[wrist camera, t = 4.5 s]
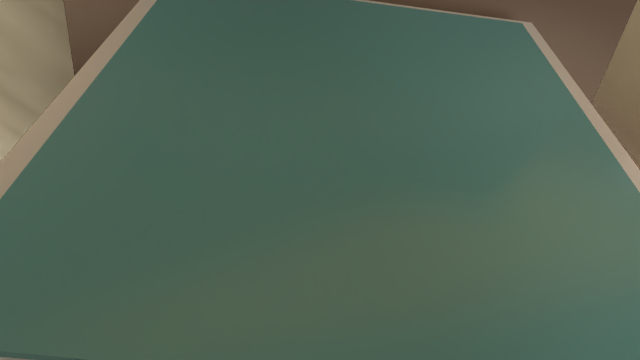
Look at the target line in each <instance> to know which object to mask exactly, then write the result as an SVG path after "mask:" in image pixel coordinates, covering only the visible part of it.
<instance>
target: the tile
mask: <svg viewBox="0 0 640 360" xmlns="http://www.w3.org/2000/svg"><path fill="white" fill-rule="evenodd" d="M0 360H640V170H639V168H638V167H637V166H636V164H635V163H634V162H633V160H632V159H631V157H630V156H629V155H628V153H627V152H626V151H625V149H624V148H623V147H622V145H621V144H620V142H619V141H618V140H617V138H616V137H615V136H614V134H613V133H612V132H611V130H610V129H609V127H608V126H607V125H606V123H605V122H604V121H603V119H602V118H601V116H600V115H599V114H598V112H597V111H596V110H595V108H594V107H593V106H592V104H591V103H590V101H589V100H588V99H587V97H586V96H585V95H584V93H583V92H582V91H581V89H580V88H579V86H578V85H577V84H576V82H575V81H574V80H573V78H572V77H571V76H570V74H569V73H568V71H567V70H566V69H565V67H564V66H563V65H562V63H561V62H560V61H559V59H558V58H557V56H556V55H555V54H554V52H553V51H552V50H551V48H550V47H549V46H548V44H547V43H546V41H545V40H544V39H543V37H542V36H541V35H540V33H539V32H538V31H537V29H536V28H535V26H534V25H533V24H532V23H531V22H524V21H516V20H509V19H502V18H494V17H487V16H479V15H472V14H465V13H457V12H450V11H442V10H435V9H428V8H420V7H413V6H405V5H398V4H391V3H383V2H376V1H369V0H140V1H139V2H138V3H137V4H136V5H135V6H134V8H133V9H132V10H131V11H130V12H129V13H128V15H127V16H126V17H125V18H124V19H123V20H122V21H121V23H120V24H119V25H118V26H117V27H116V28H115V30H114V31H113V32H112V33H111V34H110V35H109V37H108V38H107V39H106V40H105V41H104V42H103V44H102V45H101V46H100V47H99V48H98V49H97V51H96V52H95V53H94V54H93V55H92V56H91V58H90V59H89V60H88V61H87V62H86V63H85V64H84V66H83V67H82V68H81V69H80V70H79V71H78V73H77V74H76V75H75V76H74V77H73V78H72V80H71V81H70V82H69V83H68V84H67V85H66V87H65V88H64V89H63V90H62V91H61V92H60V94H59V95H58V96H57V97H56V98H55V99H54V101H53V102H52V103H51V104H50V105H49V106H48V107H47V109H46V110H45V111H44V112H43V113H42V114H41V116H40V117H39V118H38V119H37V120H36V121H35V123H34V124H33V125H32V126H31V127H30V128H29V130H28V131H27V132H26V133H25V134H24V135H23V137H22V138H21V139H20V140H19V141H18V142H17V143H16V145H15V146H14V147H13V148H12V149H11V150H10V152H9V153H8V154H7V155H6V156H5V157H4V159H3V160H2V161H1V162H0Z"/></svg>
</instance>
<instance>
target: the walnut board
mask: <svg viewBox="0 0 640 360" xmlns="http://www.w3.org/2000/svg"><path fill="white" fill-rule="evenodd" d="M139 1H140V0H64V6H65V13H66V20H67V27H68V34H69V41H70V47H71V54H72V61H73V68H74V75H76V74H77V73H78V71H79V70H80V69H81V68H82V67H83V66H84V64H85V63H86V62H87V61H88V60H89V59H90V58H91V56H92V55H93V54H94V53H95V52H96V51H97V49H98V48H99V47H100V46H101V45H102V44H103V42H104V41H105V40H106V39H107V38H108V37H109V35H110V34H111V33H112V32H113V31H114V30H115V28H116V27H117V26H118V25H119V24H120V23H121V21H122V20H123V19H124V18H125V17H126V16H127V15H128V13H129V12H130V11H131V10H132V9H133V8H134V6H135V5H136V4H137V3H138V2H139ZM369 1H376V2H383V3H391V4H398V5H405V6H413V7H420V8H428V9H435V10H442V11H450V12H457V13H465V14H472V15H479V16H487V17H494V18H502V19H509V20H516V21H524V22H531V23H532V24H533V25H534V26H535V28H536V29H537V31H538V32H539V33H540V35H541V36H542V37H543V39H544V40H545V41H546V43H547V44H548V46H549V47H550V48H551V50H552V51H553V52H554V54H555V55H556V56H557V58H558V59H559V61H560V62H561V63H562V65H563V66H564V67H565V69H566V70H567V71H568V73H569V74H570V76H571V77H572V78H573V80H574V81H575V82H576V84H577V85H578V86H579V88H580V89H581V91H582V92H583V93H584V95H585V96H586V97H587V99H588V100H589V101H590V103H592V100H593V98H594V96H595V94H596V91H597V89H598V87H599V85H600V82H601V80H602V78H603V76H604V73H605V71H606V69H607V67H608V64H609V62H610V60H611V58H612V55H613V53H614V51H615V49H616V47H617V44H618V42H619V40H620V38H621V35H622V33H623V31H624V29H625V26H626V24H627V22H628V20H629V17H630V15H631V13H632V11H633V8H634V6H635V4H636V2H637V0H369Z"/></svg>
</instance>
